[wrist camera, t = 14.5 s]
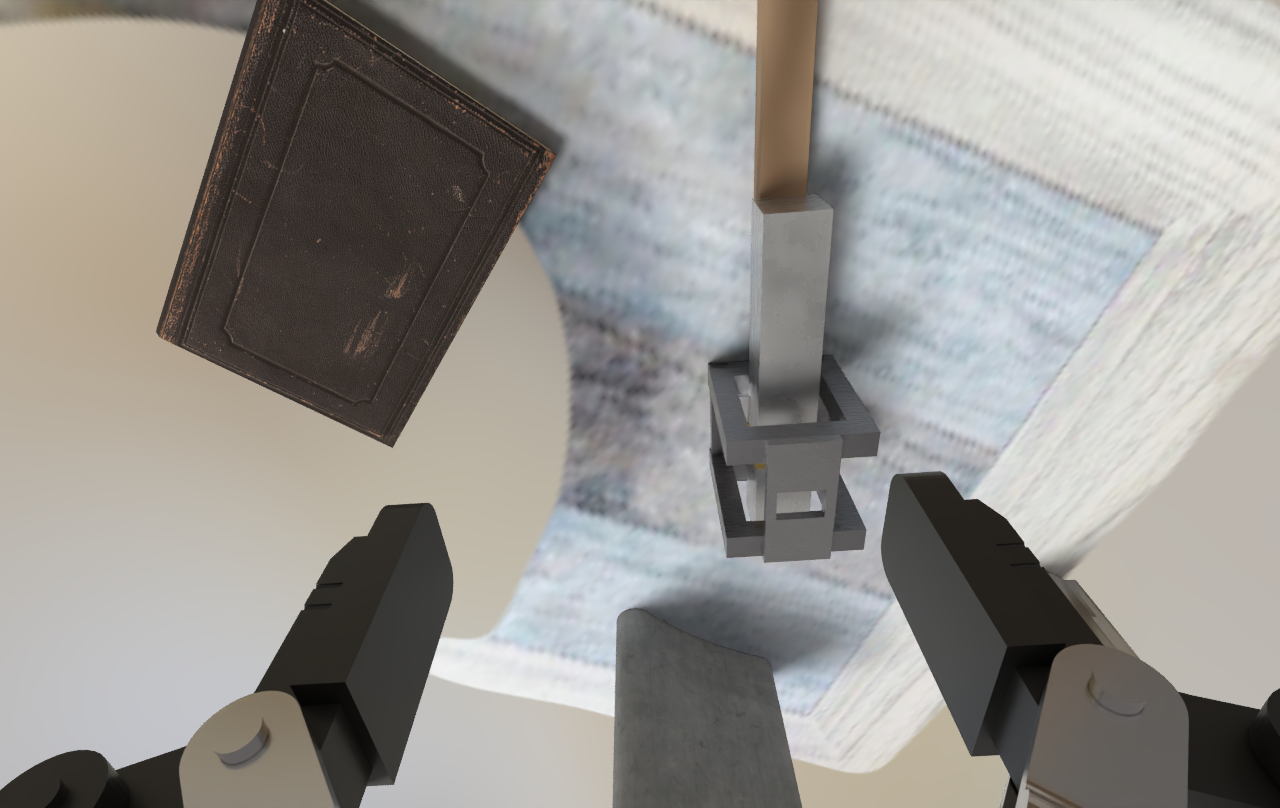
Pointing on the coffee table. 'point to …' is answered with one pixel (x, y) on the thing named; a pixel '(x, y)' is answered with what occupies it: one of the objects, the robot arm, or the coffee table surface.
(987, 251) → the coffee table surface
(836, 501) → the frame
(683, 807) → the hip flask
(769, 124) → the walnut rail
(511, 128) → the hardcover book
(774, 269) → the square steel tube
